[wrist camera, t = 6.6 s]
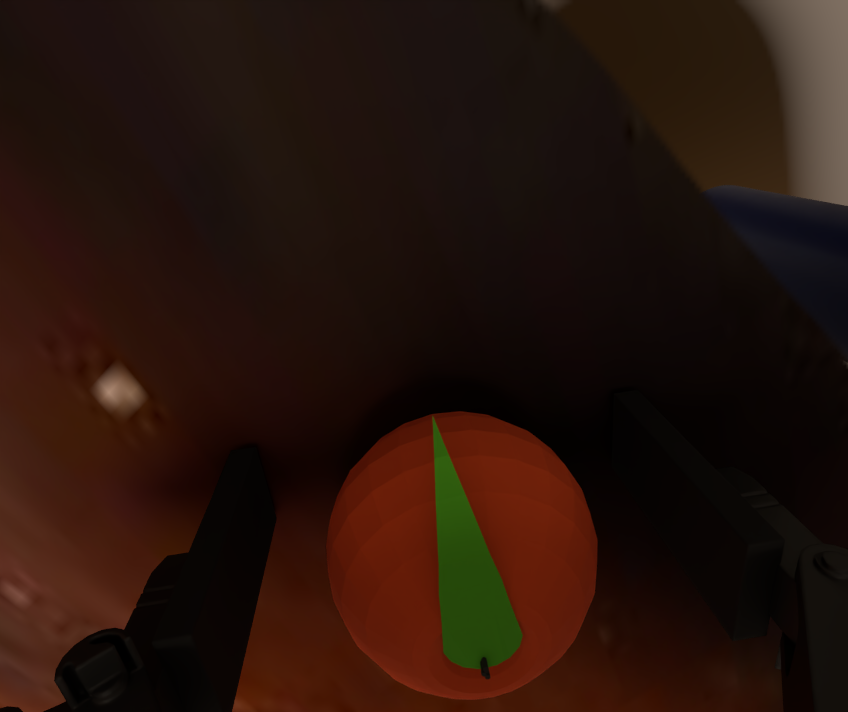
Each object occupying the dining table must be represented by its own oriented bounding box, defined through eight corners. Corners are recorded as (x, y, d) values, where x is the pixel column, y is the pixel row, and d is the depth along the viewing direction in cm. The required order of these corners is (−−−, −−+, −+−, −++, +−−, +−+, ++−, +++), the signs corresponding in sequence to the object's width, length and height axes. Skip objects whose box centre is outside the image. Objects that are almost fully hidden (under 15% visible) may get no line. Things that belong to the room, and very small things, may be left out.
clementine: (296, 365, 16) (243, 540, 9) (532, 313, 16) (648, 450, 9) (363, 570, 19) (360, 806, 12) (559, 526, 19) (659, 739, 12)
